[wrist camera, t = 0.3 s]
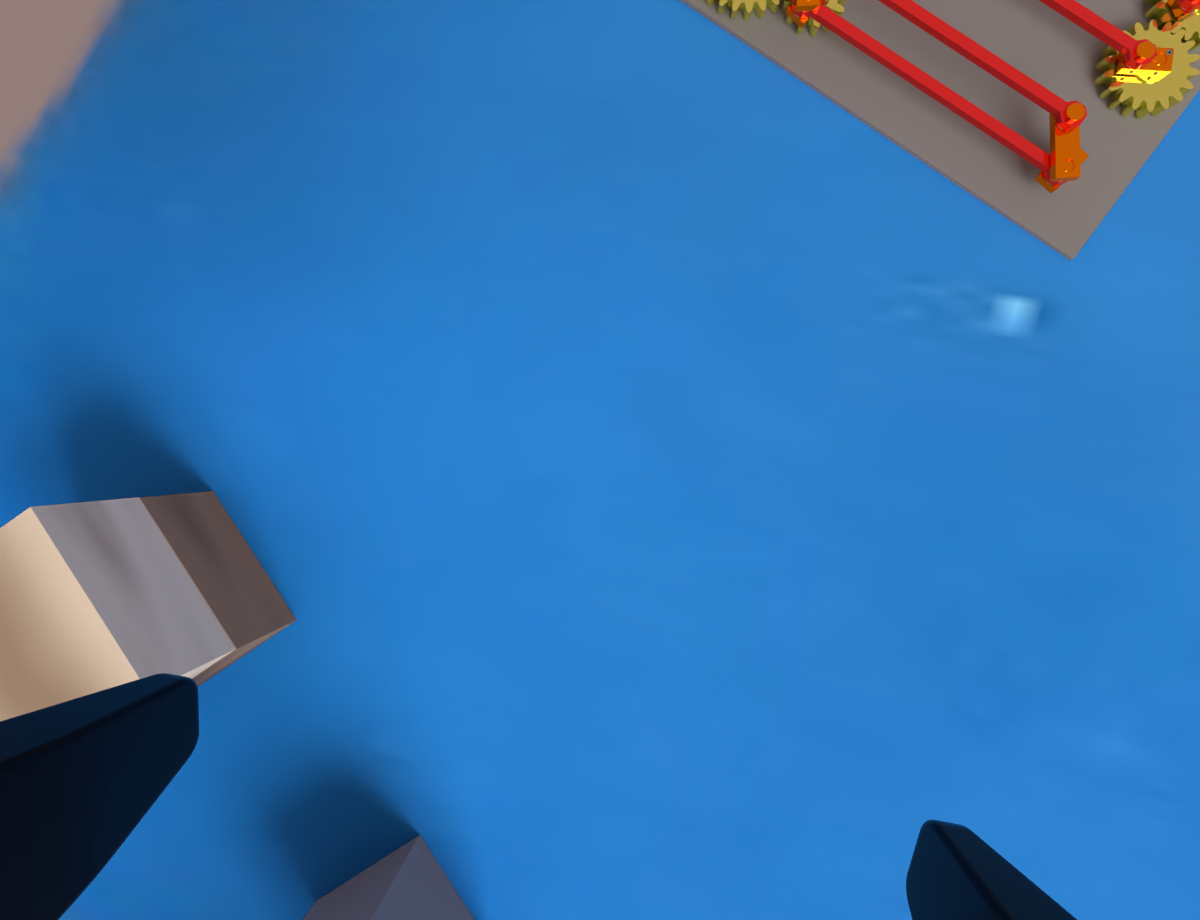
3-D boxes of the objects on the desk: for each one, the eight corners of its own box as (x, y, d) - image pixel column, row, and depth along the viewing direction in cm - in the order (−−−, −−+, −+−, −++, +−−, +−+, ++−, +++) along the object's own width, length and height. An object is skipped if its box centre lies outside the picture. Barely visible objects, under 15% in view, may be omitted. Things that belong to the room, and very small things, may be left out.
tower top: (95, 744, 20) (-23, 807, 16) (0, 594, 20) (-136, 625, 16) (236, 648, 19) (147, 691, 16) (138, 497, 20) (30, 506, 16)
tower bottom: (177, 700, 23) (95, 744, 20) (96, 574, 23) (1, 595, 20) (298, 619, 23) (237, 648, 19) (215, 490, 23) (139, 497, 20)
